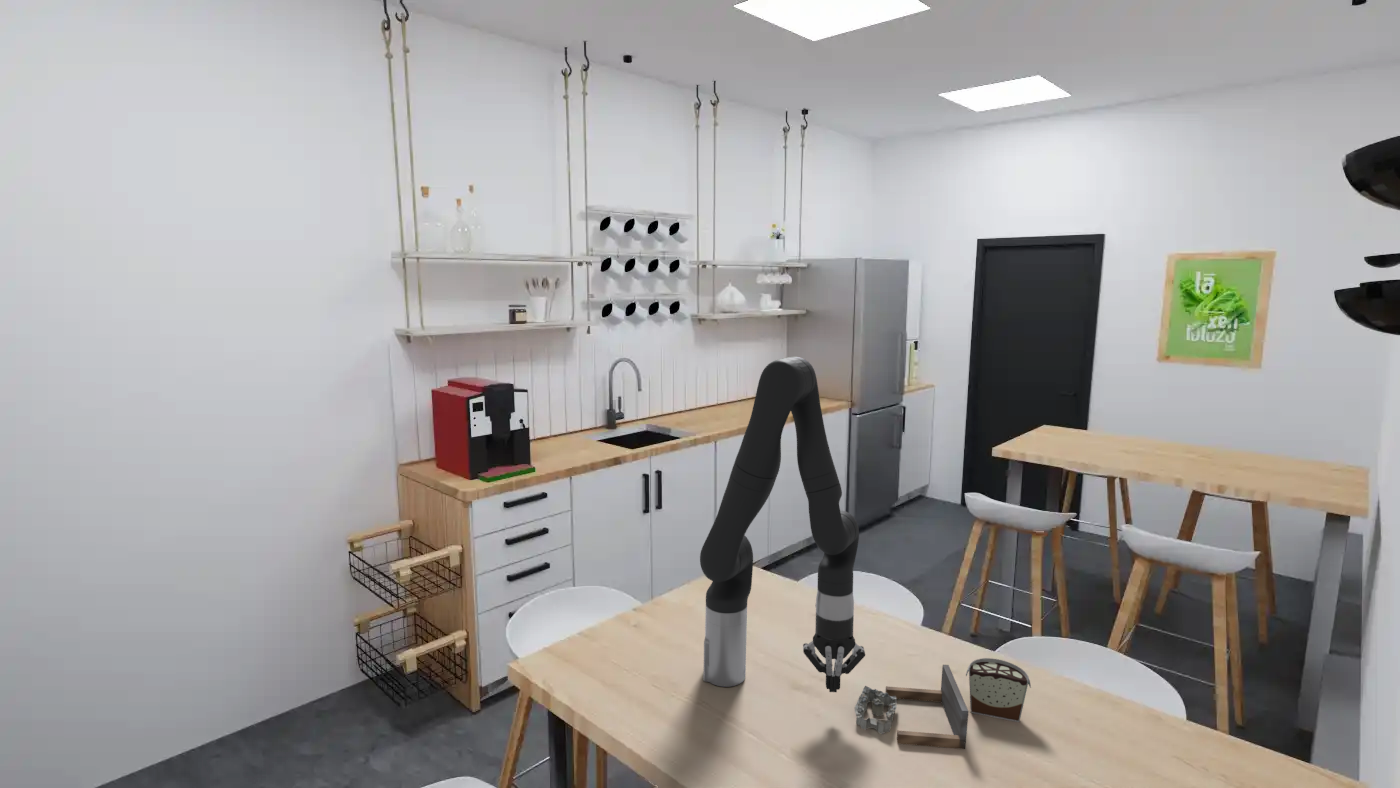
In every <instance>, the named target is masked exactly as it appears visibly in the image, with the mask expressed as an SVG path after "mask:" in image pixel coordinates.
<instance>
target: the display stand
mask: <svg viewBox="0 0 1400 788" xmlns="http://www.w3.org/2000/svg"><path fill="white" fill-rule="evenodd" d="M941 671H942V672H941V680H940V681H941V682H940V683H941V684H940V689H928V688H927V689H926V688H911V687H898V686H885V693H886V692H887V693H888V695H889V696H892V697H893V696H896V700H908V701H917V702H918V701H921V702H935V703H941V705H942V708H943V710H944V713H945V716H946V718H947V721H948V723H949V725H950V729H951V731H952V734H947V733H934V732H920V731H910V730H909V731H908V730H897V731H896V743H897V744H898V745H899V744H900V745H911V746H923V747H935V748H946V749H947V748H948V749H957V750H958V749H959V750H966V748H967V746H966V745H967V735H968V721H969V711H970V710H969V708H968V707H967V705H966V702H965V700H964V697H963V695H962V693H961V690H960V688H959V686H958V684H957V681H956V680H955V677H954V674H953V671H952V669H951V668H950V665H949V664H942V669H941Z"/></svg>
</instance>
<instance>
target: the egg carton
mask: <svg viewBox="0 0 1400 788" xmlns="http://www.w3.org/2000/svg"><path fill="white" fill-rule="evenodd" d="M897 700H898V699H896V696H893V697H892V696H889V695H888V693H887V692H886V691H885V692H883V691H881V690H878V689H876V688H874V689H873V688H871V687H869V686H867V685H864V686H863V688H862V691H861V693H860V696H859V697H858V700H857V702H856V703H855V705H854V713H855V717H856V719H855V724H857V725H858V726H860V729H862V730H867V729H869V728H871V729H875V730H876V731H877V733H878V734H884V733H889V732H891V728H892V723H893V719H894V714H895V713H896V709H897V705H898V704H897V703H898V701H897ZM870 702H871V714H873V715H874V716H880V717H881V716H883V714H884V707H885V706H888V710H887V712H885V715H886V716H885V718H875V717H871V718H870V717H868V718H866V719H865V712H866V711H867V709H868V703H870Z"/></svg>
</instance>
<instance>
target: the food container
mask: <svg viewBox="0 0 1400 788" xmlns="http://www.w3.org/2000/svg"><path fill="white" fill-rule="evenodd" d="M967 676H969V677H968V678H969V679H968V681H969V682H968V683H969V704H970V706H969V709H970V710H969V711H970V713H971V714H975V715H981V716H987V717H991V718H995V719H996V718H997V719H1000V720H1005V721H1010V722H1016V723H1020V721H1021V717H1022V713H1023V709H1024V704H1025V699H1026V695H1027V689H1028V687H1029V689H1031V688H1032V687H1031V680H1030V678H1029V675H1028V673H1027V672H1026V671H1025V670H1024V669H1022V668H1021V667H1020V666H1018V665H1016V664H1014V663H1012V662H1010V661H1006V660H1003V659H998V658H993V657H991V658H990V657H983V658H977V659H975V660H972V662H971V663H970V664H969V665H968V667H967V669H966V673H965V677H967Z"/></svg>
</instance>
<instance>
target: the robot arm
mask: <svg viewBox="0 0 1400 788" xmlns="http://www.w3.org/2000/svg"><path fill="white" fill-rule="evenodd" d="M817 379H818V378H817V375H816V371H815V368H814V367H813V365H812V364H811V363H810V362H809V361H808V360H807V359H806V358H803V357H799V356H789V357H785V358H779V359H777V360H776V359H775V360H773V361H772V362H770V363H768V364H767V365H766V366H765V367H764V369H763V370H762V372H761V374H760V377H759V381H758V383H757V388H756V393H755V397H754V402H753V406H752V410H751V414H750V419H749V421H748V424H747V427H746V429H745V432H744V434H743V437H742V441H741V445H740V447H739V449H738V452H737V454H736V457H735V461H734V462H733V466H732V469H731V472H730V475H729V479H728V482H727V484H726V488H725V490H724V493H723V497H722V500H721V502H720V505H719V509H718V511H717V515H716V517H715V519H714V521H713V524H712V526H711V528H710V530H709V533H708V534H707V537H706V539H705V541H704V543H703V544H702V548H701V550H700V554H699V562H700V563H699V564H700V568H701V571H702V573H703V574H704V576H705V577H706V578H707V579H708V580H710V581H711V584H710V586H709V587H708V588H707V590H706V593H705V627H704V628H705V629H704V630H705V632H704V633H705V634H704V641H703V678H702V679H703V682H708V683H709V684H712V685H715V686H718V687H727V688H728V687H734V686H738V685H740V684H741V683H743V682H744V681H745V679H746V670H747V666H746V665H747V630H748V627H747V626H748V599H749V597H750V594H751V590H752V586H753V585H752V582H753V571H754V569H753V568H754V553H753V547H752V544H751V541H750V540H749V539H748V537H747V536H746V533H747V531H748V528H749V527H750V526H751V524H752V523H753V521H754V520H755V518H756V517H757V515H758V514H759V513H760V511H761V509H762V508H763V507H764V505H765V504H766V502H767V500H768V499H769V497H770V494H771V492H772V490H773V488H774V485H775V483H776V481H777V480H776V479H777V477H778V475H779V471H780V468H781V463H782V462H781V460H782V446H781V445H782V434H783V431H784V428H785V425H786V422H787V420H788V417H789V416H790V413H791V415H792V418H793V421H794V428H795V433H796V435H795V436H796V459H797V460H796V461H797V466H798V472H799V476H800V478H801V482H802V486H803V489H804V491H805V495H806V497H807V503H808V514H809V515H808V517H809V524H810V531H811V536H812V539H813V541H814V543H815V544H816V546H817V547H818V549H819V550H820V551H822V553H823V557H822V558H821V560H820V562H819V564H818V568H817V591H816V597H815V631H814V632H815V633H814V634H813V636H812V640H811V641H810V642H809V643H807V642H805V643H803V644H802V650H803V651H802V652H803V654H804V655H805V657H806V658H807V659H808V660H809V661H810V663H811V664H812V666H813V667H814V668H815V669H816V670H817V672H818V673H824V674H825V688H826V690H828V692H829V693H838V692H837V691H838V690H840V688H841V676H842V675H844V674H846V675H848V674H850V673H851V672H852V670H854V668H855V667H857V666H858V665H859V663H860V662H861V661H862V660H863V659H864V658H865V657H866V651H865V648H864V646H863V645H858V644H857V643H856V639H855V636H854V616H855V615H854V613H855V612H854V611H855V599H854V566H855V562H856V557H857V553H858V546H859V542H860V541H859V539H860V529H859V525H858V522H857V520H856V518H855V516H853V515H852V513H849V512H848V511H846V510H841V507H840V501H841V498H842V495H843V491H842V487H841V486H842V485H841V483H840V480H839V477H838V473H837V470H836V467H835V463H834V461H833V460H834V459H833V456H832V453H831V451H830V446H829V441H828V437H827V433H826V429H825V424H824V418H823V417H824V416H823V413H822V412H823V411H822V407H821V401H820V393H819V385H818V380H817ZM816 649H817V651H818V652H819V653H820V654H821V655H820V656H822V657H823V658H824V659H825V662H824V663H823V661H822V660H821V658H820V657H819V655H817V653H816ZM851 651H852V653H851ZM850 653H851V654H850ZM849 654H850V656H849ZM847 656H849V657H848V658H847ZM845 658H847V659H846V660H844V659H845ZM833 660H834V666H833ZM843 660H844V662H843Z"/></svg>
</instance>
